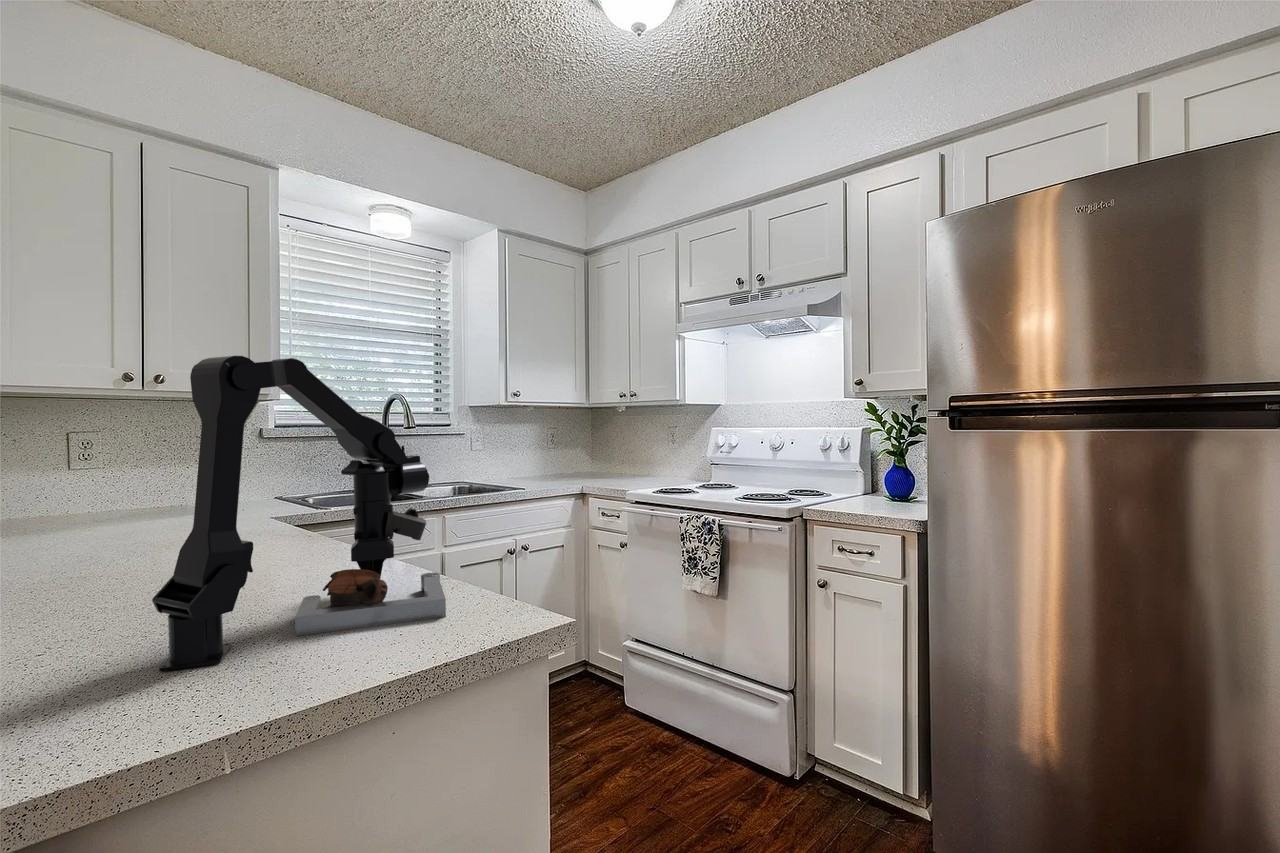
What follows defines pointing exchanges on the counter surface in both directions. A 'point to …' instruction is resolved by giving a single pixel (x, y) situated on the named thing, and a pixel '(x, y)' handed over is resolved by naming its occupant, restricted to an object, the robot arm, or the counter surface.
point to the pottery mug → (355, 588)
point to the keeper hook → (372, 610)
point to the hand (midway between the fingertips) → (374, 590)
